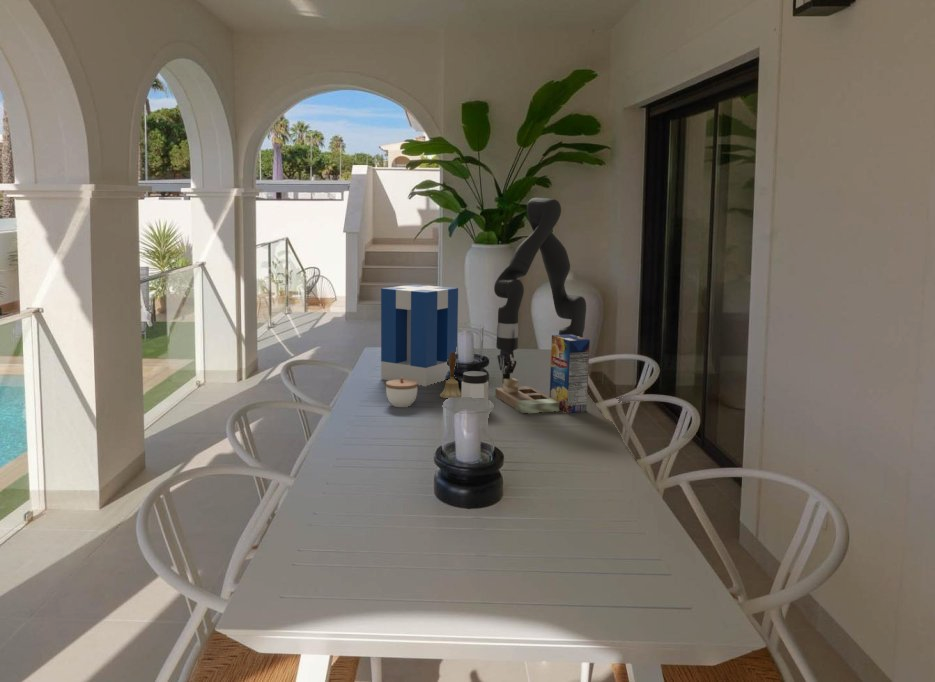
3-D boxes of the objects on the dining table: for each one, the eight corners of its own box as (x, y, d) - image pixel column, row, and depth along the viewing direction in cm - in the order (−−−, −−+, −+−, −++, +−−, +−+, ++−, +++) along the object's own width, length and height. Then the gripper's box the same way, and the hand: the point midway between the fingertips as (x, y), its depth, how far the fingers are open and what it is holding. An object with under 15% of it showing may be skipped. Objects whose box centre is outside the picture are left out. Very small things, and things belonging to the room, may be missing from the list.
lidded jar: (422, 403, 269) (422, 376, 267) (410, 410, 259) (410, 382, 257) (393, 400, 272) (393, 373, 271) (380, 407, 262) (380, 379, 261)
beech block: (513, 389, 278) (514, 378, 278) (518, 391, 275) (518, 380, 274) (503, 390, 277) (503, 378, 276) (507, 392, 273) (507, 381, 273)
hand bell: (467, 395, 282) (467, 351, 279) (456, 400, 274) (457, 354, 271) (446, 392, 285) (446, 348, 282) (435, 397, 278) (436, 352, 275)
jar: (492, 409, 262) (493, 374, 260) (473, 413, 256) (474, 377, 254) (475, 404, 268) (476, 369, 266) (456, 407, 263) (457, 372, 261)
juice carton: (549, 404, 270) (551, 335, 266) (568, 403, 273) (571, 334, 269) (567, 413, 259) (569, 340, 255) (586, 411, 262) (589, 339, 258)
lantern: (456, 376, 312) (458, 288, 306) (425, 386, 294) (426, 292, 288) (413, 370, 323) (414, 284, 317) (381, 379, 305) (381, 288, 299)
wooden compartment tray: (529, 394, 285) (529, 386, 284) (559, 411, 261) (559, 402, 261) (495, 396, 281) (495, 388, 280) (522, 413, 257) (522, 404, 257)
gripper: (524, 338, 271) (523, 387, 274) (510, 332, 284) (509, 379, 287) (504, 338, 269) (502, 388, 272) (490, 332, 281) (489, 380, 284)
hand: (506, 383), depth 279 cm, fingers closed
